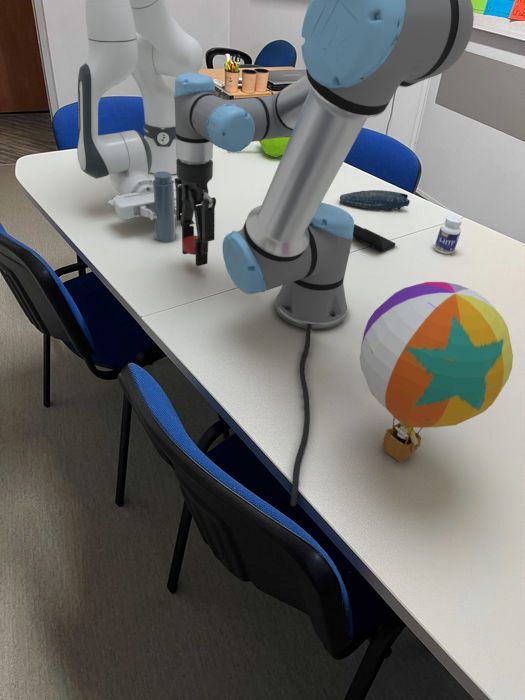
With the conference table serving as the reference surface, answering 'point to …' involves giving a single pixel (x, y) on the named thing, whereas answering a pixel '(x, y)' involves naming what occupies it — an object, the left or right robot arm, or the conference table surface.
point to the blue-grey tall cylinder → (164, 206)
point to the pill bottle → (448, 235)
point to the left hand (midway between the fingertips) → (166, 214)
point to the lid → (190, 244)
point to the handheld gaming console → (372, 239)
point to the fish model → (376, 199)
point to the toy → (434, 359)
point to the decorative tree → (274, 146)
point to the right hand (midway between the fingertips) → (194, 258)
